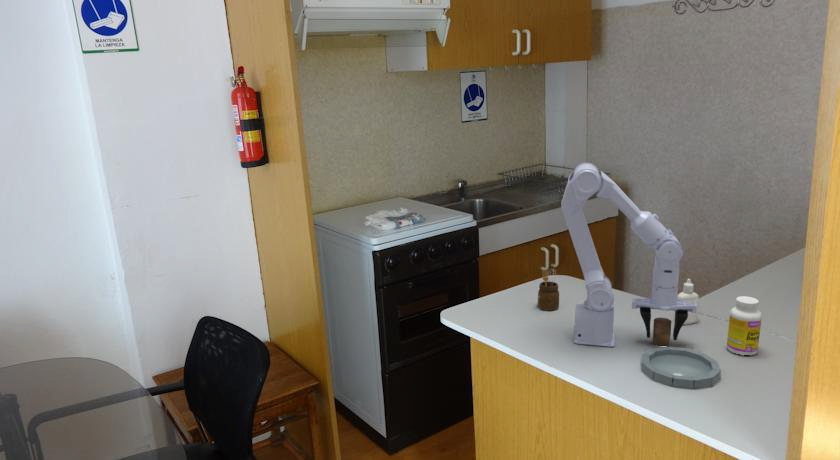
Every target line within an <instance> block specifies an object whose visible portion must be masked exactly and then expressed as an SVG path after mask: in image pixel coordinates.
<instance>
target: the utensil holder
mask: <svg viewBox="0 0 840 460" xmlns="http://www.w3.org/2000/svg"><path fill="white" fill-rule="evenodd" d="M551 271H552V272H553V273H552V272H551ZM541 272H542V273H541V274H542V275H541V276H542V280H543V281H542V282H540V283H539V287H538V288H539V289H538V292H537V307H538V309H540V310H542V311H546V312H547V311H548V312H551V311H556V310H558V309H559V307H560V291H559V284H558V282H556V279H557V278H556V277H557V274H555V273H557V272H556V270H555V269H552V270H542V271H541ZM554 272H555V273H554ZM549 273H550V274H549ZM551 273H552V278H554V275H555V278H554V279H551V280H552V281H551V280H549V276H551Z"/></svg>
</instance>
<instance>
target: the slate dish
mask: <svg viewBox="0 0 840 460" xmlns="http://www.w3.org/2000/svg"><path fill="white" fill-rule="evenodd" d="M640 361H641V362H640V365H641V372H642V373H644V374H645V375H646V376H647V377H648V378H650V380H652V381H654V382H658V383H660V384H663V385H665V386H669V387H672V388H679V389H687V390H688V389H690V390H696V389H701V388H708V387H709V388H710V387H713V386H714V385H715V384H716V383H717V382H719V381H720V380H721V373H722V371H721V367H720V365H719V364H720V363H719V362H718V361H717V360H715V359H714V358H713V357H711V356H710V355H708V354H706V353H704V352H702V351H701V352H700V351H697V350H693V349H690V348H688V347H687V348H686V347H678V346H677V347H676V346H668V347H654V348H651V349H650V348H649V350H647V351H645V352H644V353H642V354H641V360H640ZM719 379H720V380H719ZM713 384H714V385H713Z"/></svg>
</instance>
